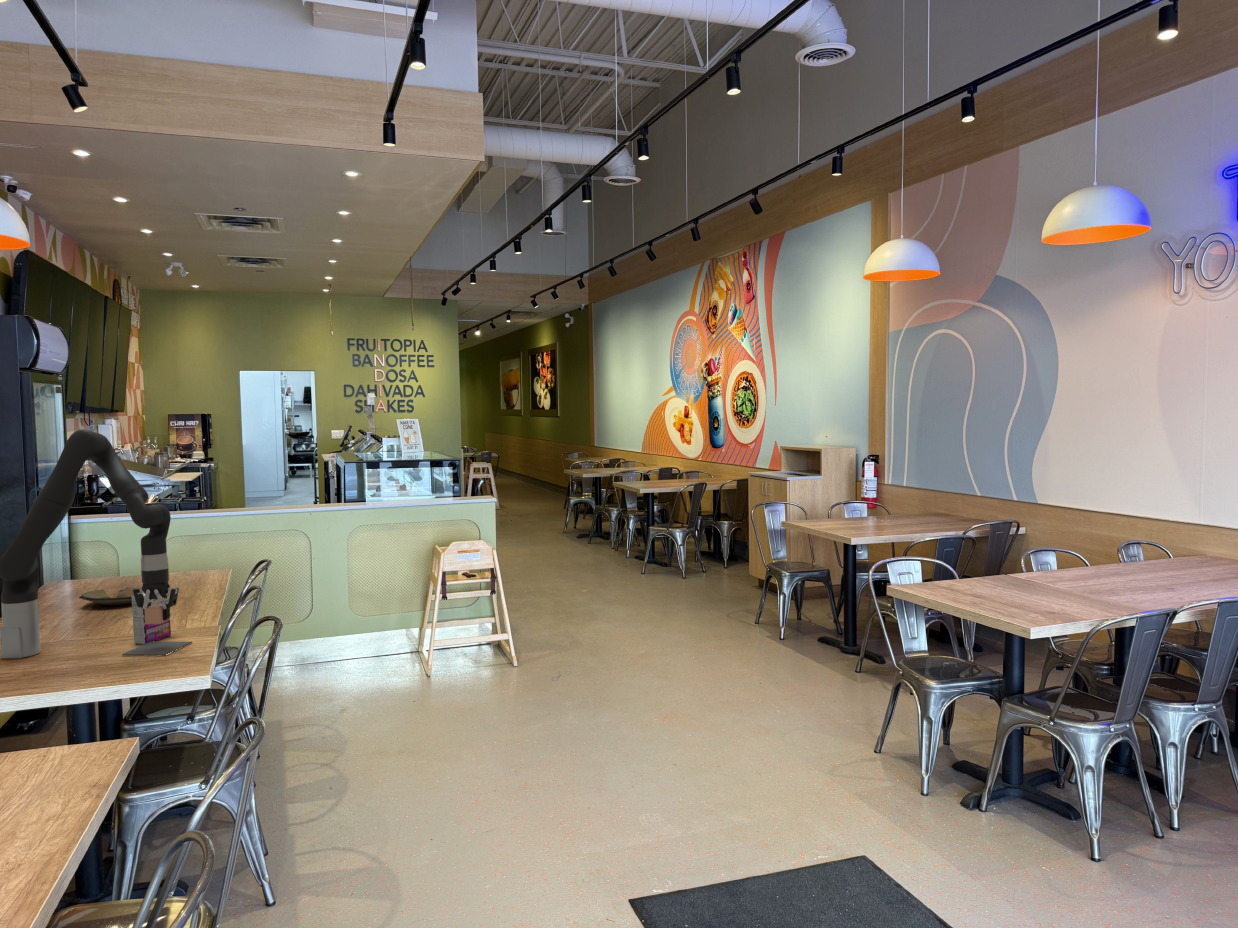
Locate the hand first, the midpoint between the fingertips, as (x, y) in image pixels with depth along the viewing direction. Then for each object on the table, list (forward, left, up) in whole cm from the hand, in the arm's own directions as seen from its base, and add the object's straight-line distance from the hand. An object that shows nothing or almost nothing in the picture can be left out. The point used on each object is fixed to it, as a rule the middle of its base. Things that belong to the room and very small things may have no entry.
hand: (157, 619), depth 253 cm
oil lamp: (+64, +55, -10) cm, 85 cm away
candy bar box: (+11, +9, -10) cm, 17 cm away
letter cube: (0, 0, -1) cm, 1 cm away
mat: (0, 0, -10) cm, 10 cm away
